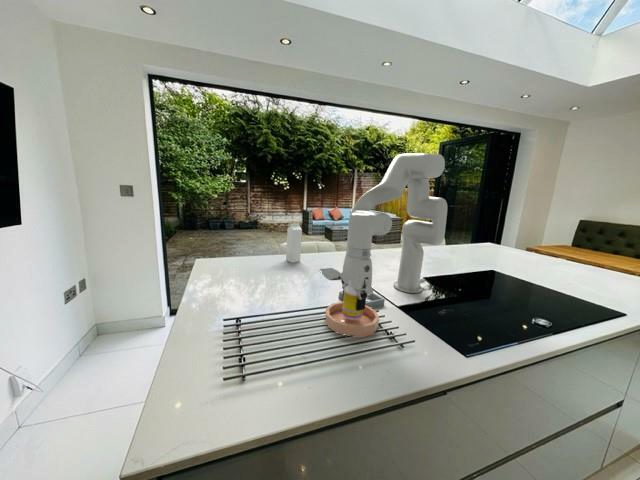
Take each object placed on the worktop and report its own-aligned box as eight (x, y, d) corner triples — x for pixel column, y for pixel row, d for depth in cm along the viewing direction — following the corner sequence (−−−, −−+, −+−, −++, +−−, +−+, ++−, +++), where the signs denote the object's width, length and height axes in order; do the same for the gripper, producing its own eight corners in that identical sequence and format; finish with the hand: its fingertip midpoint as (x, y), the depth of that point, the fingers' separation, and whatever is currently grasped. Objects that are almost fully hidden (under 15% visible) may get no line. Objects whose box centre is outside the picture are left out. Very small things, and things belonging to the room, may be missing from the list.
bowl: (355, 307, 101) (356, 298, 100) (388, 329, 86) (389, 319, 86) (316, 316, 92) (316, 306, 91) (345, 342, 78) (346, 331, 77)
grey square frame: (363, 293, 115) (363, 287, 114) (383, 305, 104) (384, 299, 104) (338, 297, 108) (339, 291, 108) (358, 311, 98) (359, 304, 97)
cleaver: (362, 289, 120) (363, 284, 120) (343, 291, 116) (344, 286, 116) (331, 269, 146) (331, 265, 146) (315, 270, 142) (315, 267, 141)
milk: (285, 260, 155) (287, 222, 150) (294, 259, 159) (296, 222, 154) (291, 263, 150) (293, 224, 146) (300, 261, 154) (302, 223, 150)
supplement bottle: (361, 322, 85) (365, 284, 82) (340, 319, 86) (344, 281, 83) (362, 313, 91) (366, 277, 89) (343, 310, 93) (346, 274, 90)
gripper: (386, 258, 79) (380, 314, 83) (351, 245, 93) (346, 293, 97) (367, 260, 75) (361, 319, 79) (333, 246, 90) (329, 296, 93)
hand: (353, 304), depth 88 cm, fingers closed on supplement bottle, 6 cm apart
